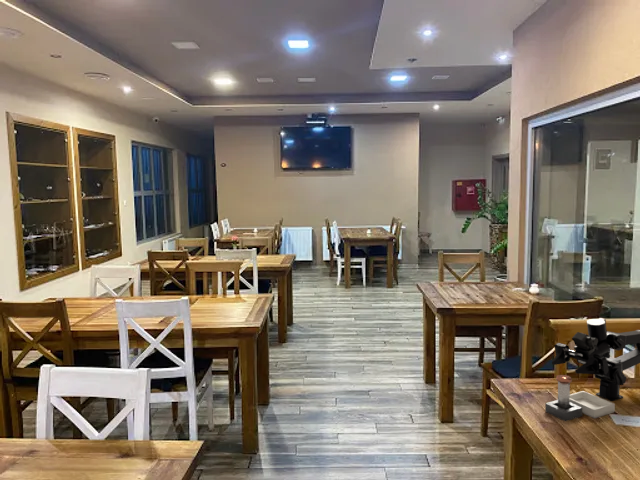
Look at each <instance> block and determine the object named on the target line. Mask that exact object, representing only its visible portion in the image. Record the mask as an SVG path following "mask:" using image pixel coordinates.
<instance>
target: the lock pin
mask: <svg viewBox="0 0 640 480" xmlns="http://www.w3.org/2000/svg"><path fill="white" fill-rule="evenodd" d="M572 379H573V378H572V377H571V376H569V375H566V374H558V375H556V381H557V400H558V407H560V408H562V409H564V410H566V409H569V408H570V394H571V389H570V388H571V383H572V381H573V380H572Z"/></svg>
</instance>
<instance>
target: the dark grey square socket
mask: <svg viewBox="0 0 640 480" xmlns="http://www.w3.org/2000/svg"><path fill="white" fill-rule="evenodd" d="M544 407H545V410H544V411H545V413H547V414H549V415H551V416H553V417H555V418H558V419H559V420H561V421H563V422H567V421H571V420H574V419H578V418H580V417H583V413H582V407H580V406H577V405H575V404H573V403H571V402H570V408H569V409H566V410H564V409H562V408H560V407H558V399H556V400H553V401H549V402H546V403H545V406H544Z"/></svg>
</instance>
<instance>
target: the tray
mask: <svg viewBox="0 0 640 480" xmlns="http://www.w3.org/2000/svg"><path fill="white" fill-rule="evenodd" d="M570 402H571V403H573V404H575V405H577V406H580V407H582V415H583V414H584V415H586V416H587V417H590V418H592V419H594V420H595V419H597V418H600V417H604V416H607V415H610V414H613V413H615V411H616V409H615V408H616V407H615V406H616V405H615V404H616V403H614V402H613V401H610V400H607V399H605V398H602V397H600V396H598V395H596V394H592V393H589V392H588V391H584V390H582V391H581V390H580V391H578V392H574V393H570Z"/></svg>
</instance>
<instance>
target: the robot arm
mask: <svg viewBox="0 0 640 480" xmlns="http://www.w3.org/2000/svg"><path fill="white" fill-rule="evenodd" d="M586 327H587V333H583V332H579V331H578V332H576V333H575V334H574V335H573V336H572V337H571V340H572V341H573V343H574V346H573V349H574V350H572V349H570V346H569V345H568V344H564V343H561V342H557V343H556V344H554V346H553V347H554V351H555V357H554V358H553V359H552V361H551V365H553V366H554V365H556V366H558V365H563V364H566V363H567V362H569V361H570V360H571V358H572V359H575V360H576V362H577V363H578V364H582V365H580V366H578V367H577V368H576V369H575V371H574V372H575V374H583V375H585V374H586V375H593V376H594V378H595V379H599V392H596V393H595V396H597V397H600V398H602V399H605V400H607V401H609V402H614V401H618V400H620V399H624V396H623V395H621V394H620V386H624V384H626V382H627V377H626V375H625V374H624V373H623V372H624V371H625V370H628V369H630V368H632V367H635V366H637V365H639V364H640V329H636V330H632V331H625V332H614V331H609V330H607V320H606V319H605V318H603V317H599V318H591V319H590V318H589V319H587V320H586ZM629 345H634V346H635V347H636V348H635V349H632V350H630V351H629V352H626V353H624V354H621V355H620V356H617V357H612V356H611V350H615V351H621V350H623V349H625V348H626V346H629Z"/></svg>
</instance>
